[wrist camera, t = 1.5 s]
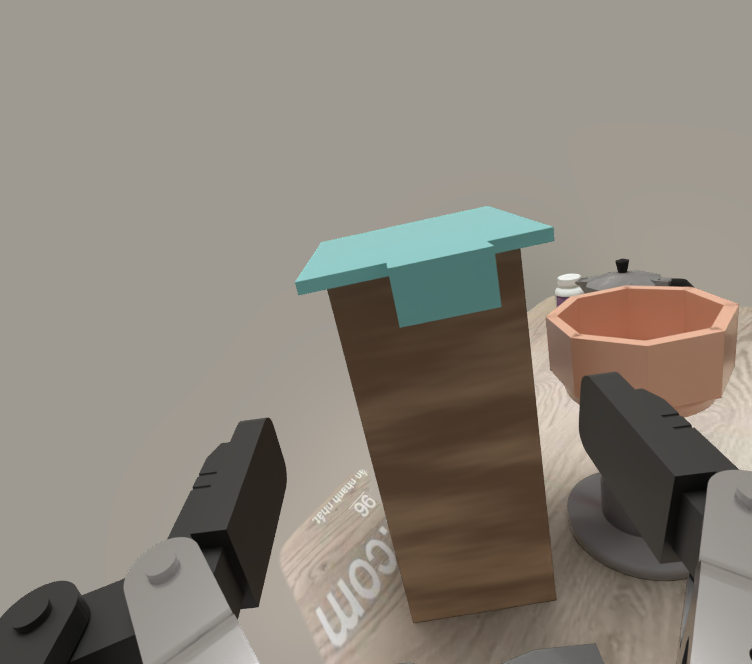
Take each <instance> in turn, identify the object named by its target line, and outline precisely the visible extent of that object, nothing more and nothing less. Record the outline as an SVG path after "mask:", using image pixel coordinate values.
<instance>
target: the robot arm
mask: <svg viewBox="0 0 752 664" xmlns="http://www.w3.org/2000/svg"><path fill="white" fill-rule="evenodd" d="M579 433H580V438H581V441H582V444H583V447H584V449H585V450H586V452H587V454H588V455H589V457H590V458H591V460H592V461H593V463H594V464H595V466H596V467H597V469H598V470H599V472H600V473H601V475H602V476H603V478H604V480H605V481H606V483H607V484H608V486H609V487H610V489H611V490H612V492H613V493H614V495H615V496H616V498H617V499H618V501H619V502H620V504H621V505H622V507H623V508H624V510H625V512H626V513H627V515H628V516H629V518H630V519H631V521H632V522H633V524H634V525H635V527H636V528H637V530H638V531H639V533H640V534H641V536H642V537H643V539H644V540H645V542H646V544H647V545H648V547H649V548H650V550H651V551H652V553H653V554H654V556H655V557H656V559H657V560H658V562H659V563H660V564H665V563H674V562H682V563H683V564H684V566H685V567H686V568H687V570H688V571H689V575H688V579H687V585H686V592H685V600H684V607H683V614H682V622H681V629H680V636H679V644H678V651H677V658H676V664H752V472H751V471H744V470H739V469H738V468H737V467H736V466H735V465H734V464H733V463H732V462H730V461H729V460H728V459H727V458H726V457H725V456H724V455H723V454H722V453H721V452H720V451H719V450H718V449H717V448H716V447H715V446H713V445H712V444H711V443H710V442H709V441H708V440H707V439H706V438H705V437H704V436H703V435H702V434H701V433H700V432H699V431H698V430H696V429H695V428H692V426H691V424H690V423H689V422H688V421H687V420H686V419H685V418H684V417H683V416H680V415H679V413H678V412H677V411H676V410H675V409H674V408H673V407H672V406H671V405H670V404H669V403H668V402H667V401H666V400H665V399H663V398H661V397H659V396H657V395H655V394H653V393H651V392H649V391H647V390H645V389H643V388H642V389H634V388H633V387H632V386H631V385H630V384H629V383H628V382H627V381H626V380H625V379H624V378H623V377H622V376H621V375H620V374H619V373H618V372H608V373H601V374H593V375H586V376H583V378H582V380H581V390H580V411H579ZM286 483H287V473H286V466H285V461H284V458H283V455H282V452H281V448H280V445H279V442H278V439H277V435H276V432H275V429H274V426H273V423H272V421H271V419H270V418H262V419H254V420H246V421H240V422H239V423H238V425H237V427H236V430H235V432H234V434H233V436H232V439H231V441H230V442H228V443H221V444H220V445H219V446H218V447H217V448H216V449H215V450H214V451H213V452H212V453H211V454H210V455H209V456H208V458H207V459H206V461H205V463H204V465H203V467H202V469H201V471H200V473H199V477H197V479H196V481H195V483H194V485H193V490H192V491H191V492H190V494H189V496H188V498H187V500H186V502H185V504H184V506H183V508H182V510H181V512H180V514H179V516H178V518H177V520H176V522H175V524H174V527H173V528H172V531H171V533H170V535H169V537H168V539H167V540H165V541H163V542H160V543H158V544H156V545H155V546H153V547H151V548H150V549H148V550H147V551H146V552H145V553H143V554H142V555H141V556H140V557H139V558H138V559H137V560H136V561H135V563H134V564H133V565H132V566H131V568H130V569H129V572H128V573H127V575H126V578H124V579H122V580H120V581H117V582H115V583H112V584H110V585H107V586H105V587H102V588H100V589H97V590H94V591H92V592H90V593H87V594H84V595H81V594H80V592H79V591H78V589H77V588H76V586H75V585H74V584H73V583H71V582H68V581H56V582H52V583H49V584H46V585H43V586H41V587H39V588H37V589H35V590H33V591H31V592H30V593H28V594H27V595H25V596H24V597H22V598H21V599H20V600H18V601H17V602H16V603H15V604H14V605H12V606H11V607H10V608H9V609H8V610H7V611H6V612H5V613H4V614H3V615H2V617H1V618H0V664H259V662H258V660H257V658H256V656H255V654H254V652H253V650H252V648H251V646H250V644H249V642H248V640H247V638H246V636H245V634H244V632H243V630H242V628H241V626H240V624H239V622H238V617H239V613H240V609H247V608H255V607H259V603H260V598H261V594H262V590H263V585H264V580H265V577H266V572H267V568H268V563H269V559H270V555H271V550H272V546H273V541H274V537H275V533H276V529H277V524H278V520H279V515H280V511H281V506H282V503H283V498H284V494H285V490H286ZM401 664H414V663H401ZM502 664H604V662H603V660H602V657H601V655H600V653H599V650H598V648H597V646H596V643H595V644H585V645H576V646H566V647H556V648H547V649H537V650H532V651H530V652H528V653H525V654H523V655H521V656H518V657H516V658H514V659H511V660H509V661H507V662H504V663H502Z"/></svg>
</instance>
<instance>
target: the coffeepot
mask: <svg viewBox="0 0 752 664" xmlns="http://www.w3.org/2000/svg"><path fill="white" fill-rule="evenodd" d="M628 263H629V260H628V259H620V260H616V265H617V269H618V272H609V273H606V274H603V275H600V276H592V277H586V278H581V279H579V280H578V281H576V282H575V284H577V285H579V286H580V288H581V289H582V290H583V292H584V293H585V294H586V293H591V292H596V291H601V290H606V289H611V288H616V287H621V286H625V285H629V286H669V287H693V288H694V286H692V285H691V284H690V283H689V282H688V281H687V280H686V279H673V278H661V275H660V274H655V273H649V272H644V271H627V269H628Z"/></svg>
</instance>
